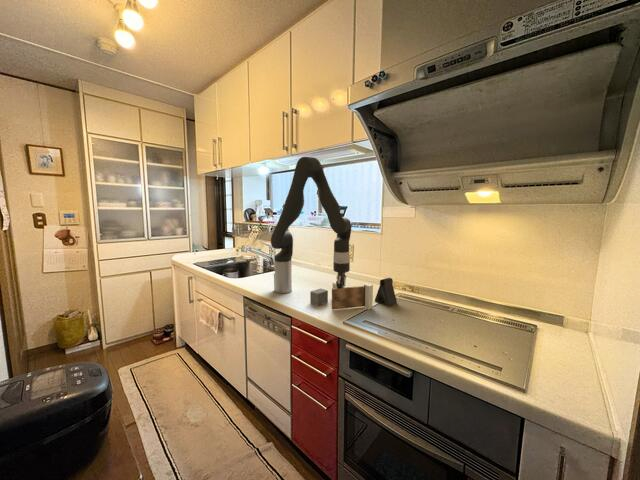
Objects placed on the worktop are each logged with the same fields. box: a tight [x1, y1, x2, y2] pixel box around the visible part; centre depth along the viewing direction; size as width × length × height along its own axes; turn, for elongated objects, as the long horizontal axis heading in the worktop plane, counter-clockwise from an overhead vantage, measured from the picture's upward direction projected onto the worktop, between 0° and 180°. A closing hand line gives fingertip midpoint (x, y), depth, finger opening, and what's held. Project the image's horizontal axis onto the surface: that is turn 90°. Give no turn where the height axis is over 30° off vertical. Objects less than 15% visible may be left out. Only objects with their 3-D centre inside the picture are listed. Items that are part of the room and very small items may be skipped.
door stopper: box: [374, 277, 398, 307], centre depth 125 cm, size 9×6×12 cm, turn 37°
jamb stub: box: [332, 281, 337, 289], centre depth 132 cm, size 2×2×8 cm
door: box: [331, 284, 367, 311], centre depth 117 cm, size 17×2×10 cm, turn 105°
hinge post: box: [364, 283, 374, 310], centre depth 118 cm, size 2×3×11 cm, turn 136°
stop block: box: [309, 287, 329, 307], centre depth 125 cm, size 5×7×6 cm
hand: (341, 297), depth 121 cm, fingers closed
